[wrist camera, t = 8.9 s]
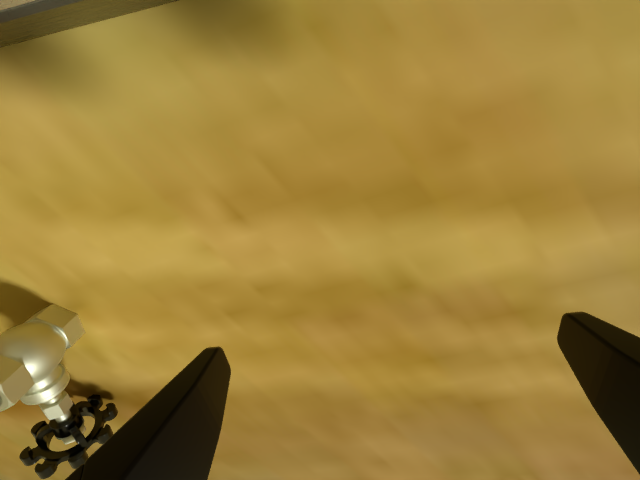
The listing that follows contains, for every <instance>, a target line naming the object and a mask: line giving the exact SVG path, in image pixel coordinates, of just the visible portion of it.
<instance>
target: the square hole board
mask: <svg viewBox="0 0 640 480" xmlns="http://www.w3.org/2000/svg"><path fill="white" fill-rule="evenodd" d="M174 1H178V0H0V47H3V46H7V45H11V44H15V43H18V42H22V41H26V40H30V39H34V38H37V37H41V36H45V35H49V34H52V33H56V32H60V31H64V30H68V29H71V28H75V27H79V26H83V25H87V24H90V23H94V22H98V21H102V20H106V19H109V18H113V17H117V16H121V15H125V14H128V13H132V12H136V11H140V10H144V9H147V8H151V7H155V6H159V5H163V4H166V3H170V2H174Z"/></svg>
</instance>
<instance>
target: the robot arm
mask: <svg viewBox="0 0 640 480" xmlns="http://www.w3.org/2000/svg"><path fill="white" fill-rule="evenodd" d="M557 341H558V345H559V347H560V349H561V351H562V353H563V354H564V356H565V358H566V360H567V362H568V363H569V365H570V367H571V369H572V371H573V372H574V374H575V376H576V378H577V379H578V381H579V383H580V385H581V387H582V388H583V390H584V392H585V394H586V396H587V397H588V399H589V401H590V402H591V404H592V406H593V407H594V409H595V410H596V412H597V413H598V415H599V416H600V418H601V419H602V421H603V422H604V424H605V425H606V427H607V428H608V429H609V431H610V432H611V434H612V435H613V437H614V438H615V440H616V441H617V442H618V444H619V445H620V447H621V448H622V450H623V451H624V453H625V454H626V456H627V457H628V458H629V460H630V461H631V463H632V464H633V466H634V467H635V469H636V470H637V471H638V473H639V474H640V337H637V336H635V335H633V334H631V333H629V332H627V331H624V330H622V329H620V328H618V327H616V326H614V325H611V324H609V323H607V322H605V321H603V320H601V319H598V318H596V317H594V316H592V315H590V314H587V313H585V312H572V313H566V314H564V315H563V316H562V319H561V323H560V327H559V332H558V336H557ZM230 375H231V369H230V365H229V363H228V361H227V358H226V356H225V354H224V351H223V349H222V348H221V347H210V348H206V349H205V350H203V351H202V352H201V353H200V354H199V355H198V356H197V357H196V358H195V359H194V360H193V361H192V362H190V363H189V364H188V365H187V366H186V367H185V368H184V369H183V370H182V371H181V372H180V373H179V374H178V375H177V376H176V377H174V378H173V379H172V380H171V381H170V382H169V383H168V384H167V385H166V386H165V387H164V388H163V389H162V390H161V391H159V392H158V393H157V394H156V395H155V396H154V397H153V398H152V399H151V400H150V401H149V402H148V403H147V404H146V405H145V406H143V407H142V408H141V409H140V410H139V411H138V412H137V413H136V414H135V415H134V416H133V417H132V418H131V419H130V420H129V421H127V422H126V423H125V424H124V425H123V426H122V427H121V428H120V429H119V430H118V431H117V432H116V433H115V434H114V435H112V436H111V437H110V438H109V439H108V440H107V441H106V442H105V443H104V444H103V445H102V446H101V447H100V448H99V449H98V450H96V451H95V452H94V453H93V454H92V455H91V456H90V457H89V458H88V459H87V460H86V461H85V464H81V465H80V466H79V467H78V468H77V469H76V470H75V471H74V472H73V473H72V474H71V475H70V476H69V477H67V478H66V479H65V480H207V479H208V475H209V472H210V468H211V464H212V461H213V457H214V453H215V450H216V446H217V443H218V439H219V435H220V431H221V426H222V421H223V415H224V410H225V404H226V398H227V392H228V387H229V381H230Z"/></svg>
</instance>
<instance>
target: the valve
mask: <svg viewBox="0 0 640 480" xmlns="http://www.w3.org/2000/svg"><path fill="white" fill-rule="evenodd" d="M84 333H85V330H84V328H83V325H82V323H81V321H80V319H79V316H78V315H77V314H76V313H74V312H71V311H69V310H66V309H64V308H62V307H59V306H57V305H54V304H51V305H49V306H48V307H46V308H44V309H42V310H40V311H38V312H37V313H35V314H34V315H33V316H32V317H30V318H29V319H28V320H27V321H25V322H24V323H23V324H20V325H17V326H15V327H12V328H10V329H8V330H6V331H5V332H3V333H2V334H0V412H1V411H4V410H6V409H8V408H9V407H11V406H13V405H15V404H16V403H17V402H18V401H19V400H21V401H22V402H23V403H24V404H27V405H36V404H38V405H39V406H40V408H41V410H42V411H43V413H44V414H45V416H46V417H47V418H48V419H49V420H50V422H49V424H47V423H46V422H45V421H41V422H39V423H37V424H36V425H34V426H33V428H32V429H31V433H32V435H33V436H34V437H35V439H36V443H37V444H38V446H37V447H36V448H33V449H31V448H30V447H29V446H28V447H27V448H25V449H24V450H23V451H22V452H21V454H20V459H21V461H22V462H23V463H24V465H26V466H30V465H33V464H35V463H36V462H37V461H38V460H39V459H41V458H43V459H44V460H45V461H44V463H43V464H37V465H36V467H35V472H36V473H37V475H38V476H39V477H40V478H41V479H46V478H48V477H50V476H51V475H53V474H54V472H55V471H56V469H57V466H58V464H60V463H61V462H64V461H67V460H68V462H69V464H70V465H71V467H72V468H74V469H77V468H78V467H79V466H80V465H81V464H85V461H86V460H87V459H88V454H87V453H86V450H87V449H88V448H89V447H90V446H91V445H92V444H93V443H95V442H98V443H100V444H104V443H105V442H106V441H107V440H108V439H109V438H110V437H111V436H112V435H113V432H112V430H111V428H110V426H109V425H107V424H106V425H105V427H104V423H105V422H106V421H110V420H112V419H114V418H115V417H116V416H117V413H118V411H117V408H116V406H115V404H114V403H109V404H106V406H107V408H106V409H105V410H103V411H100V410H99V408H100V407H101V406H102V405H103V401H102V399H101V397H100V395H92V396H90V397H89V398H88V399H87V400H88V401H80V402H78V403H77V404H76V405H75V404H74V402H73V401H72V400H71V399H70V397H69V395H68V393H67V392H66V391H65V390H64V389H65V388H66V386H67V385H68V383H69V381H70V375H69V373H68V371H67V369H66V367H65V366H64V365H63V364H60V362H61V360H62V358H63V356H64V353H65V350H66V349H67V348H70V347H71V346H72V345H73V344H74V343H75V342H76V341H77V340H78V339H79V338H80V337H81V336H82V335H83V334H84ZM82 416H92V417H94V418H95V425H94V427H93V429H92V431H91V433H90V434H89V435H88V436H87V437H86V438H85V437H84V435H83V433H84V431H85V430H86V428H85V426H84V419H83V417H82ZM103 427H104V428H103ZM54 435H55V437H56V438H57V439H59V440H62V441H63V442H64V444H69V443H72V442H74V441H76V442H77V444H78V445H76V446H74V447H72V448H70V449H68V450H65V451H60V452H55V451H51V450H50V449H49V444H50V441H51V439H52V437H53V436H54Z"/></svg>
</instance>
